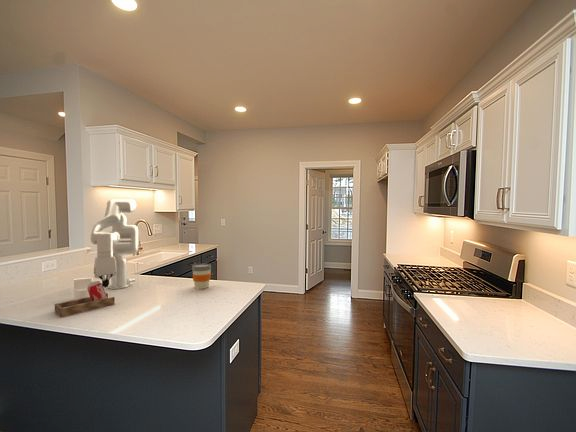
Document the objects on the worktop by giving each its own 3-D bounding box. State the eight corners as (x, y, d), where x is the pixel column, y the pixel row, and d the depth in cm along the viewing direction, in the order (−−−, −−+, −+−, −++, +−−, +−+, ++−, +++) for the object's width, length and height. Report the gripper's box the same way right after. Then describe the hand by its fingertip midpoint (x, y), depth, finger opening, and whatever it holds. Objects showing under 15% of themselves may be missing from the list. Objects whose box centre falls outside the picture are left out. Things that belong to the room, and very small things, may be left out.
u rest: (107, 299, 163) (107, 293, 163) (114, 304, 156) (114, 297, 156) (54, 311, 145) (54, 303, 145) (60, 317, 137) (60, 309, 137)
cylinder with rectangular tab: (72, 301, 160) (72, 281, 160) (76, 297, 168) (75, 277, 168) (91, 299, 164) (91, 279, 164) (94, 295, 172) (93, 276, 172)
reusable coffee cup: (188, 288, 187) (187, 266, 186) (200, 283, 198) (200, 262, 198) (203, 290, 182) (203, 267, 182) (215, 285, 194) (214, 264, 193)
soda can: (100, 306, 151) (93, 286, 149) (89, 306, 153) (82, 287, 150) (110, 299, 158) (104, 280, 155) (100, 299, 160) (93, 280, 157)
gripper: (117, 252, 165) (117, 283, 165) (87, 255, 153) (87, 288, 154) (122, 253, 160) (122, 285, 161) (91, 256, 149) (92, 291, 149)
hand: (105, 286), depth 157 cm, fingers closed
